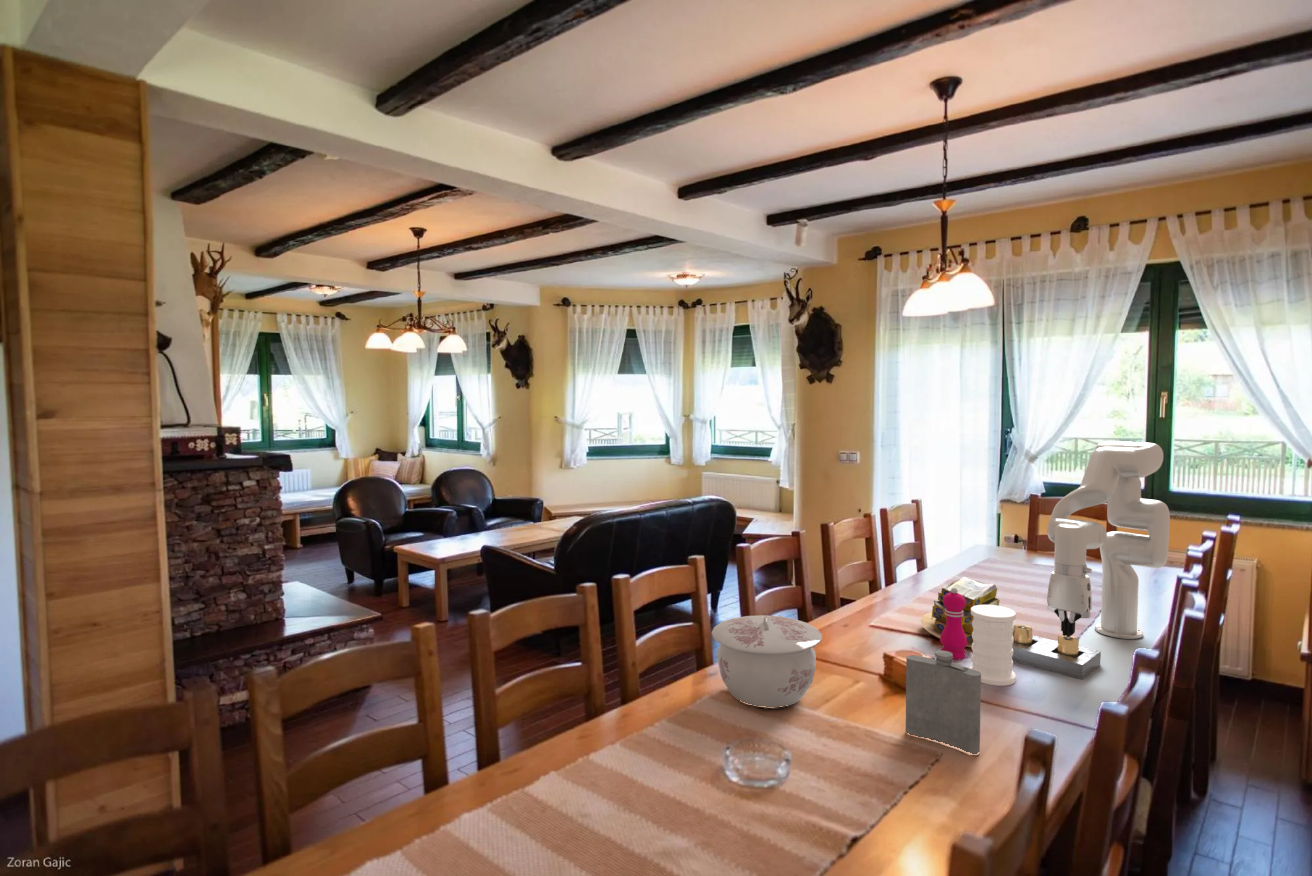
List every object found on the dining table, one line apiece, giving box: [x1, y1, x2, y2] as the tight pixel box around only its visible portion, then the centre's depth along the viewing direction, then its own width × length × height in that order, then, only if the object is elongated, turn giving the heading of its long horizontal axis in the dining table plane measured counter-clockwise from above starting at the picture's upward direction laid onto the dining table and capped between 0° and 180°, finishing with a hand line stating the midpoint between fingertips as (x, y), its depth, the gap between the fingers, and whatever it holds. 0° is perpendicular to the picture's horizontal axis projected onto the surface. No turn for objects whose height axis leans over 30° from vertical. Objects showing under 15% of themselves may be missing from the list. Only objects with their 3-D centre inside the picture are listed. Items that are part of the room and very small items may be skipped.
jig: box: [1012, 623, 1102, 681], centre depth 203 cm, size 14×24×8 cm, turn 41°
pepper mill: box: [939, 588, 967, 661], centre depth 207 cm, size 7×7×20 cm
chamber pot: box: [711, 614, 823, 707], centre depth 181 cm, size 28×28×21 cm
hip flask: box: [905, 650, 982, 754], centre depth 157 cm, size 16×4×20 cm, turn 47°
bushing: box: [1057, 634, 1080, 658], centre depth 198 cm, size 5×5×8 cm
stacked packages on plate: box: [920, 576, 1000, 649], centre depth 224 cm, size 25×25×17 cm
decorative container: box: [968, 605, 1017, 687], centre depth 192 cm, size 12×12×18 cm
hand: (1067, 635), depth 198 cm, fingers closed
